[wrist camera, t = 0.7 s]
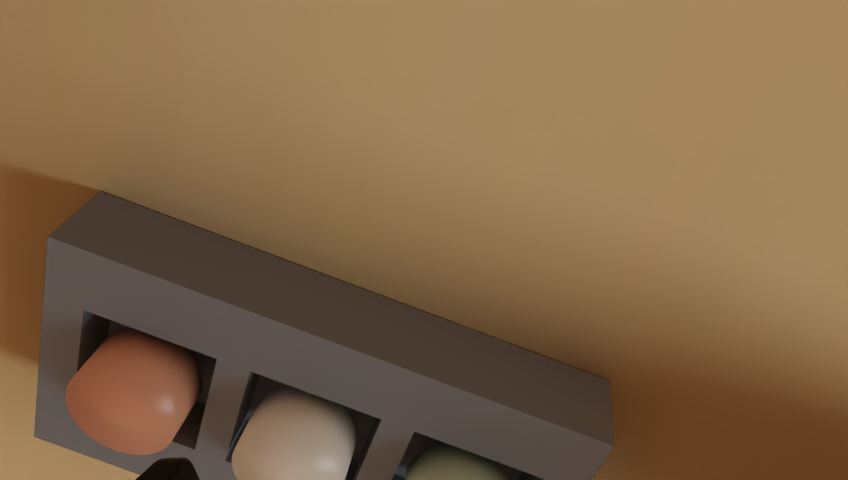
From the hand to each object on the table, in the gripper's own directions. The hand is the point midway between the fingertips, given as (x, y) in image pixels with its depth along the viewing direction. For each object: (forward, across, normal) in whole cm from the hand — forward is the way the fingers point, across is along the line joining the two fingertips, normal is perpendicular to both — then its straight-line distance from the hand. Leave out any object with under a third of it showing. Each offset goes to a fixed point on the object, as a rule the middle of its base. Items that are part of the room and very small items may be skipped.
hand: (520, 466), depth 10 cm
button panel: (+13, +8, +10) cm, 18 cm away
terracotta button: (+11, +13, +8) cm, 19 cm away
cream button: (+11, +8, +10) cm, 17 cm away
